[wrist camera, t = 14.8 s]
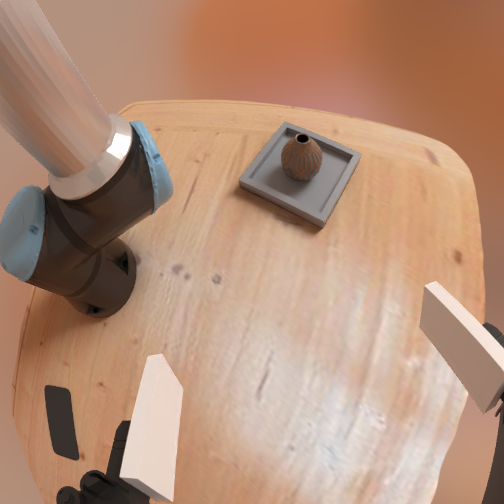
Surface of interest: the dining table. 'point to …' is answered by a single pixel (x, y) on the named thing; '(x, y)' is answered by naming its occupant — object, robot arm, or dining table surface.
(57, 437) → the phone
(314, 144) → the vase
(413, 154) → the dining table surface
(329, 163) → the tray
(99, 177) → the robot arm
